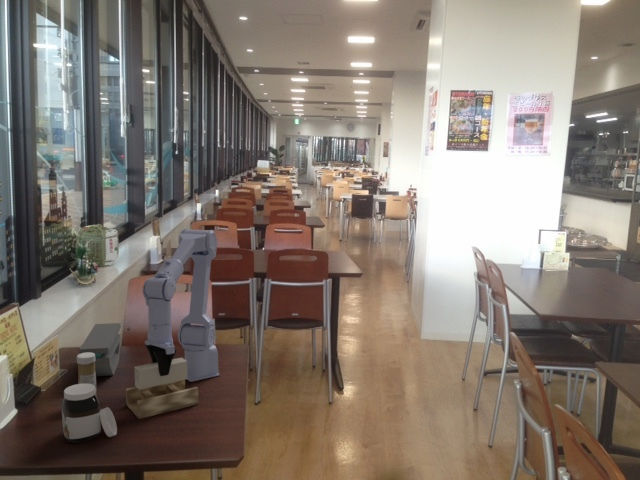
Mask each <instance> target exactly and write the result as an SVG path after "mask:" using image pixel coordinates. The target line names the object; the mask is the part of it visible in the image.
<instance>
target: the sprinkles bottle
mask: <svg viewBox="0 0 640 480" xmlns="http://www.w3.org/2000/svg"><path fill="white" fill-rule="evenodd" d="M76 363H77V375H78V376H77V377H78V381H77V382H78V383H77V384H92V385H94V386H95V392H96V393H95V395H96V396H97V376H96V372H95V354H94V353H91V352H86V353H81V354H79V353H78V354H77V355H76Z"/></svg>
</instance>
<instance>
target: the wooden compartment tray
mask: <svg viewBox="0 0 640 480" xmlns="http://www.w3.org/2000/svg"><path fill="white" fill-rule="evenodd" d="M125 398H126V399H125V400H126V406H127V407H128V409H130V411H131V412H132V413H133V414H134V415H135V417H136V419H138V420H141V419H142V420H143V419H146V418H149V417H152V416H156V415H157V416H158V415H161V414H164V413H169V412H173V411H176V410H180V409H185V408H189V407H192V406H196V405H199V388H198V386H194V387H190V388H186V380H181V381H177V382H172V383H168V384H163V385H158V386H154V387H149V388H145V389H140V390H139V389H138V388H137V387H136V386H132V387H129V388H126V389H125Z"/></svg>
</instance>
